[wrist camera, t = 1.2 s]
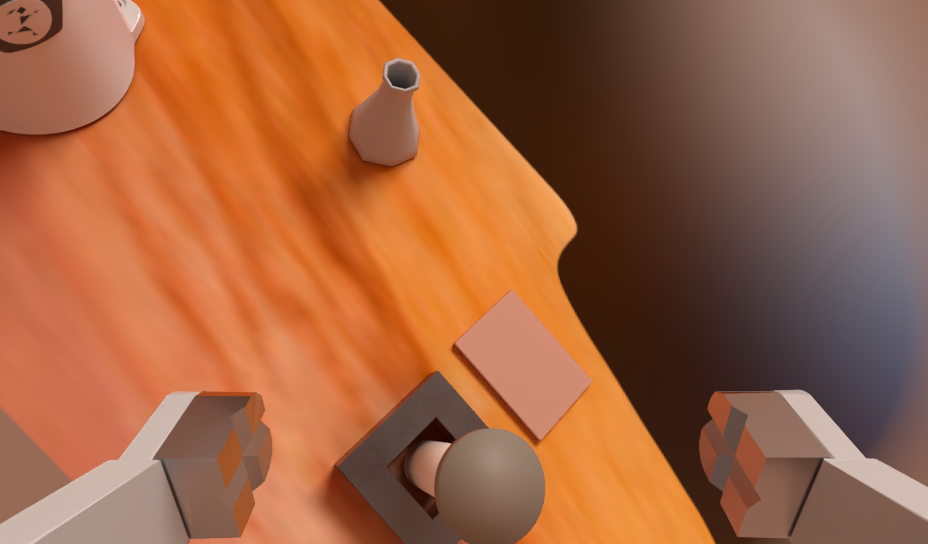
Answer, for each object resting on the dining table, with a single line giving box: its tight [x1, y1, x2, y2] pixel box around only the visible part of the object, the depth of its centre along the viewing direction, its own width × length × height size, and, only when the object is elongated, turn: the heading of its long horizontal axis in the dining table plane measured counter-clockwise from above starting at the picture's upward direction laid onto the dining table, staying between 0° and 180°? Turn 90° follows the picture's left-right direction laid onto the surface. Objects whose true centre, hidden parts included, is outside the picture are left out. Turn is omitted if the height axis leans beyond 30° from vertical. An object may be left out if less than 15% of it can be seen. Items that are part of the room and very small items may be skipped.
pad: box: [454, 290, 592, 441], centre depth 51 cm, size 12×8×1 cm, turn 44°
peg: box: [404, 428, 545, 544], centre depth 38 cm, size 6×6×17 cm
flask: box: [348, 58, 420, 167], centre depth 49 cm, size 7×7×10 cm
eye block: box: [335, 371, 488, 544], centre depth 45 cm, size 11×11×3 cm
